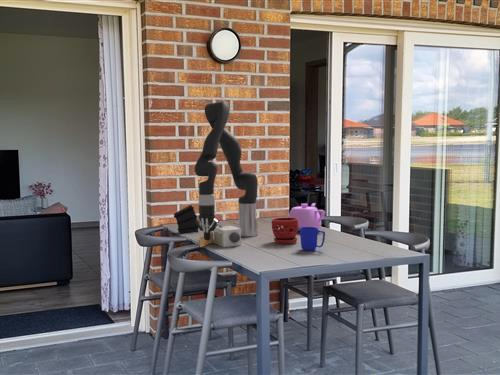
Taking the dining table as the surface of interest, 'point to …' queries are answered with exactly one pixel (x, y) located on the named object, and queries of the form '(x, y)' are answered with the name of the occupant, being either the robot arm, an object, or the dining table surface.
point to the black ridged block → (186, 220)
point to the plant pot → (285, 230)
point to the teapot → (307, 216)
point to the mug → (310, 238)
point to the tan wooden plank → (205, 242)
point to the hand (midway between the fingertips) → (207, 239)
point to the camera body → (227, 236)
